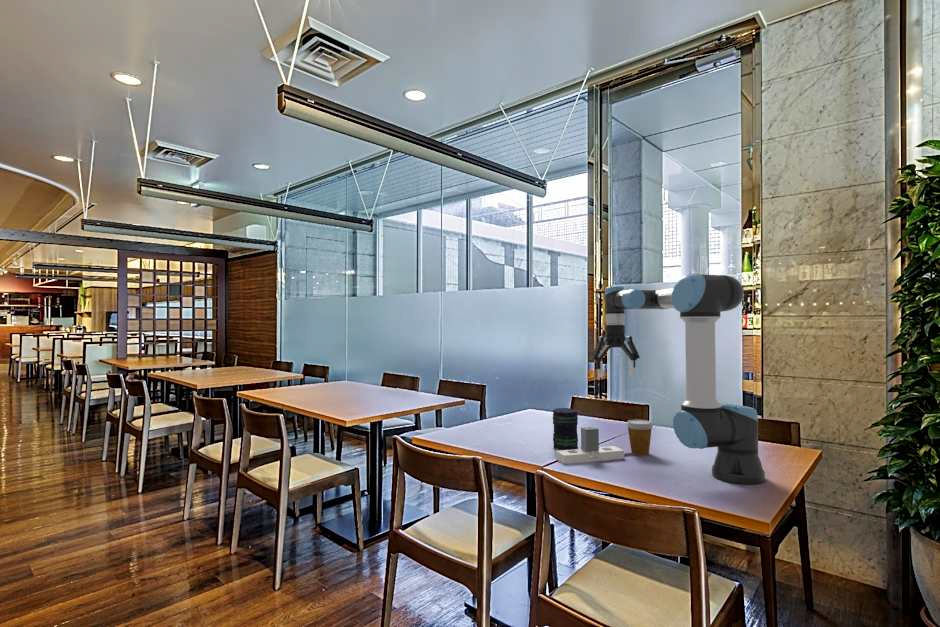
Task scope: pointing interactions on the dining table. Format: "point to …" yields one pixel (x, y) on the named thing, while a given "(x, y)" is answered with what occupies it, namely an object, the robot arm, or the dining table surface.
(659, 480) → the dining table surface
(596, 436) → the charger
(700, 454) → the dining table surface
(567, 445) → the storage jar
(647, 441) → the disposable coffee cup
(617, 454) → the power strip
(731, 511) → the dining table surface
